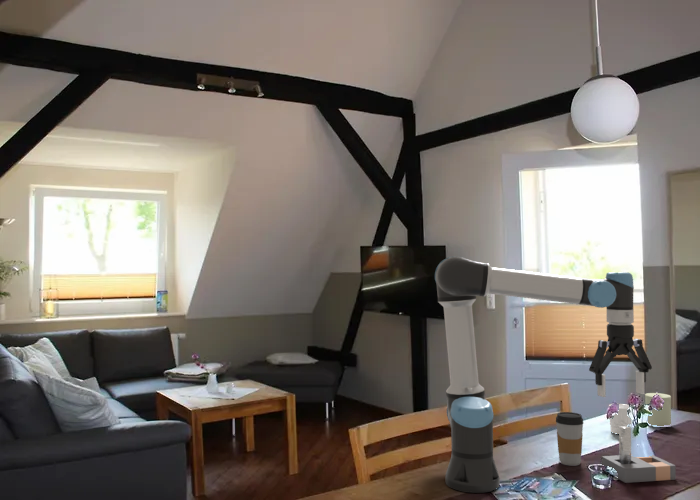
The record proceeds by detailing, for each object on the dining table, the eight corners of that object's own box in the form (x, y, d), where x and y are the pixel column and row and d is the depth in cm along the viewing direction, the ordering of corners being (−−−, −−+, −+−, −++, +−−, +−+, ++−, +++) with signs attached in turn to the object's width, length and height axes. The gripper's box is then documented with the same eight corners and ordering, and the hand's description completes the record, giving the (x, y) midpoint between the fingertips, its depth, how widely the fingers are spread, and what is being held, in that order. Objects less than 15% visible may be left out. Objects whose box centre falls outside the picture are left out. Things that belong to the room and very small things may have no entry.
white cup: (636, 436, 233) (635, 408, 233) (614, 436, 233) (613, 408, 233) (627, 430, 241) (626, 403, 241) (605, 430, 241) (605, 403, 241)
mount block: (625, 482, 184) (625, 468, 184) (601, 469, 195) (601, 456, 195) (675, 479, 186) (675, 465, 186) (649, 466, 198) (649, 453, 198)
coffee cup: (586, 467, 197) (585, 418, 198) (557, 466, 199) (557, 417, 199) (581, 459, 205) (581, 412, 206) (554, 458, 207) (554, 411, 207)
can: (649, 427, 245) (648, 396, 245) (642, 421, 254) (641, 391, 254) (675, 428, 243) (674, 396, 243) (667, 422, 252) (666, 391, 252)
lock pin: (623, 477, 188) (623, 429, 189) (617, 473, 191) (616, 426, 192) (633, 476, 189) (633, 428, 189) (627, 473, 192) (626, 425, 192)
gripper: (592, 326, 186) (593, 399, 186) (663, 323, 193) (664, 394, 193) (576, 323, 194) (577, 394, 193) (646, 321, 200) (647, 390, 200)
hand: (621, 394), depth 193 cm, fingers open, 13 cm apart
